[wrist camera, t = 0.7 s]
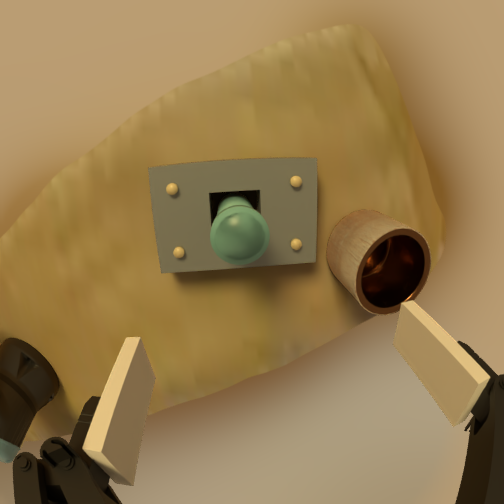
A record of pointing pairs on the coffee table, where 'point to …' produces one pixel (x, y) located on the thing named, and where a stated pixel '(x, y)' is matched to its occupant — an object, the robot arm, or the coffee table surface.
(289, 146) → the coffee table surface
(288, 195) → the grey socket block
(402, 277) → the planter
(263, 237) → the plug
